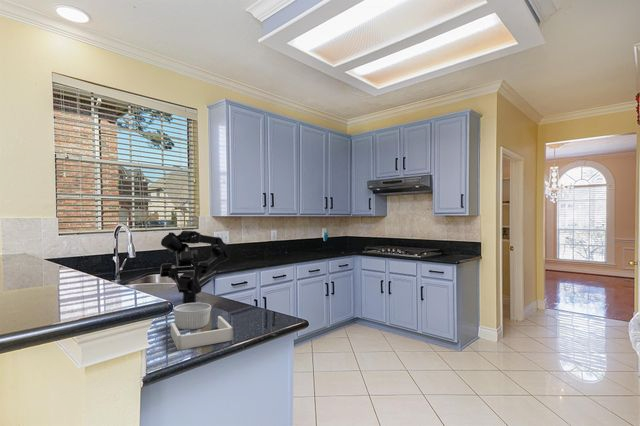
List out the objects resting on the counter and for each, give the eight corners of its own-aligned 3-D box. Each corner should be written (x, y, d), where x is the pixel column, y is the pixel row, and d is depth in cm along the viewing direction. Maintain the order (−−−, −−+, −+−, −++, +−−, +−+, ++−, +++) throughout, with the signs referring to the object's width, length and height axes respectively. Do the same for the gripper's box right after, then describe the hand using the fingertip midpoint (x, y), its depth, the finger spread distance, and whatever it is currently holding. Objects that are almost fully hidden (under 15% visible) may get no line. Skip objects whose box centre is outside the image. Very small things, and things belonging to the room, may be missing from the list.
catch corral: (170, 334, 114) (170, 322, 114) (220, 326, 123) (220, 315, 123) (177, 350, 101) (178, 337, 101) (232, 340, 110) (233, 328, 110)
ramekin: (206, 318, 133) (206, 300, 133) (214, 327, 122) (215, 308, 122) (170, 323, 126) (171, 304, 126) (176, 333, 115) (176, 313, 115)
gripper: (161, 244, 135) (164, 275, 125) (208, 243, 144) (214, 272, 135) (158, 261, 141) (161, 292, 132) (204, 259, 151) (209, 287, 141)
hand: (187, 285), depth 135 cm, fingers open, 6 cm apart
